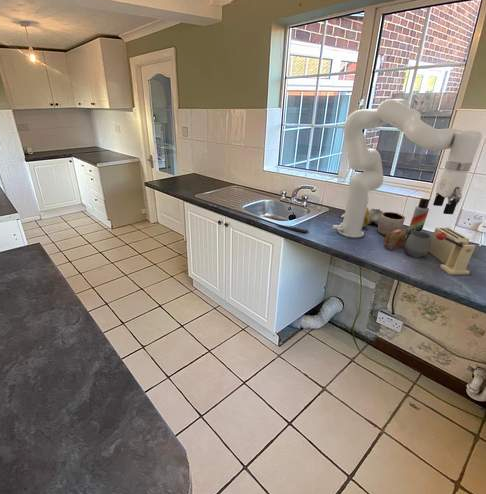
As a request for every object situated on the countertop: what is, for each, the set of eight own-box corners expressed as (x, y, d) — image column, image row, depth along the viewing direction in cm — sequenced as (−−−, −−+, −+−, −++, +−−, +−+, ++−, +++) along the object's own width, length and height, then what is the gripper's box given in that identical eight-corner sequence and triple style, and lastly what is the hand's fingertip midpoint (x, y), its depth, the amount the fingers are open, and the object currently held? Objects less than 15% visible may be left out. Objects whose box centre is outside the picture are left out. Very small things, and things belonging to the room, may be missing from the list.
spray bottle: (405, 235, 157) (417, 198, 148) (408, 232, 161) (420, 195, 152) (418, 238, 154) (431, 201, 145) (420, 235, 158) (433, 198, 149)
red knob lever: (438, 239, 119) (444, 232, 117) (432, 236, 121) (438, 229, 120) (466, 253, 122) (472, 246, 120) (460, 249, 125) (466, 243, 123)
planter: (395, 229, 165) (400, 212, 161) (403, 237, 155) (409, 220, 151) (374, 227, 166) (378, 211, 162) (381, 236, 157) (385, 218, 152)
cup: (411, 260, 135) (418, 239, 130) (398, 250, 143) (404, 230, 139) (431, 258, 136) (439, 238, 131) (416, 249, 144) (423, 229, 140)
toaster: (445, 264, 132) (455, 239, 126) (427, 251, 142) (435, 227, 137) (459, 264, 132) (469, 239, 126) (439, 251, 142) (448, 227, 137)
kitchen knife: (353, 210, 190) (349, 209, 192) (353, 208, 190) (350, 208, 191) (342, 218, 178) (338, 217, 180) (342, 217, 178) (339, 216, 179)
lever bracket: (449, 274, 124) (461, 246, 119) (439, 266, 130) (450, 239, 124) (469, 274, 125) (481, 246, 119) (458, 266, 130) (469, 239, 124)
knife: (277, 224, 170) (275, 226, 168) (278, 223, 170) (275, 224, 168) (307, 231, 162) (305, 233, 160) (308, 230, 162) (306, 232, 159)
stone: (371, 222, 168) (369, 229, 161) (351, 224, 174) (348, 231, 166) (368, 200, 164) (367, 207, 156) (348, 202, 170) (345, 209, 162)
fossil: (374, 207, 184) (394, 201, 169) (380, 224, 183) (400, 220, 169) (350, 215, 180) (368, 210, 165) (356, 233, 179) (375, 229, 165)
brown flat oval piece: (386, 251, 142) (391, 235, 138) (380, 248, 145) (384, 232, 141) (406, 244, 148) (411, 228, 145) (400, 241, 151) (405, 226, 147)
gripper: (436, 161, 122) (423, 202, 130) (456, 171, 107) (440, 216, 115) (458, 162, 120) (443, 203, 128) (481, 172, 105) (463, 218, 113)
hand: (442, 209), depth 121 cm, fingers open, 9 cm apart
